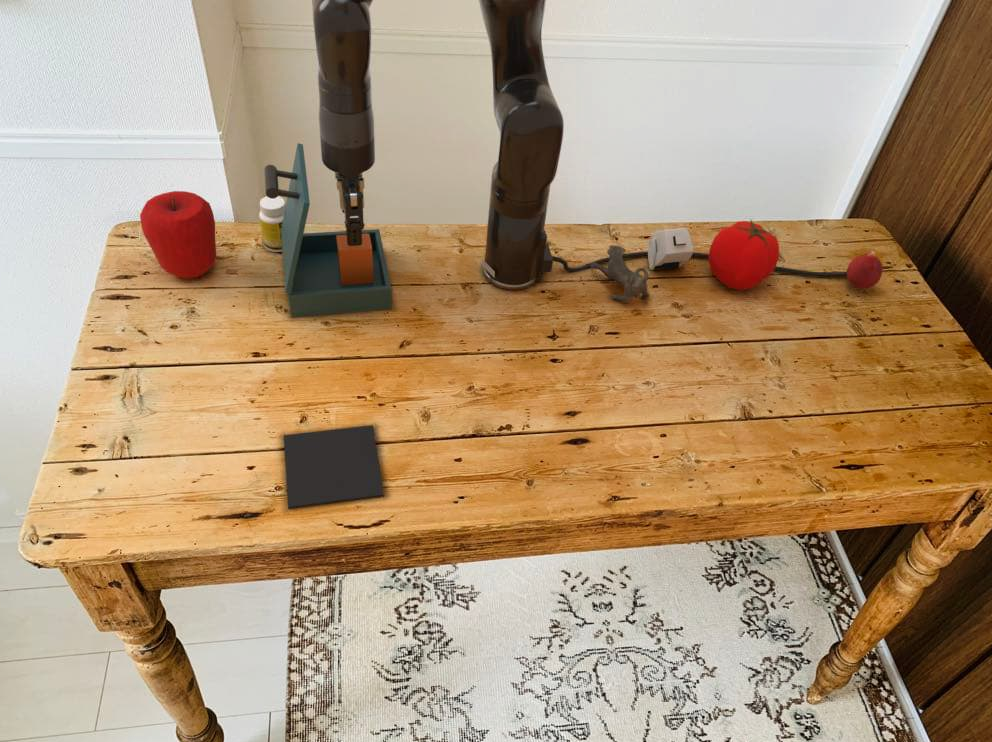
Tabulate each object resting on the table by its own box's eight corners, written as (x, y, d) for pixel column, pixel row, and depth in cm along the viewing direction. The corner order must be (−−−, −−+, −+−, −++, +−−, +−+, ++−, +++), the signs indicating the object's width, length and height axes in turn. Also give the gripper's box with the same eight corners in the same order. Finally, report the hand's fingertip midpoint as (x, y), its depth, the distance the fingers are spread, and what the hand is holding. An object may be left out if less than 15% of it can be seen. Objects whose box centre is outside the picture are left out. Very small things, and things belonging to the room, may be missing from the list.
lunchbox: (379, 249, 139) (379, 229, 136) (391, 309, 129) (391, 288, 126) (286, 255, 136) (283, 234, 132) (291, 317, 126) (288, 296, 122)
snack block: (370, 267, 134) (369, 233, 129) (373, 283, 132) (372, 248, 127) (338, 270, 133) (336, 235, 128) (341, 285, 131) (338, 250, 125)
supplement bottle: (285, 255, 135) (280, 213, 129) (259, 249, 136) (251, 207, 130) (296, 239, 139) (291, 197, 133) (270, 233, 139) (264, 191, 133)
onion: (874, 284, 147) (893, 249, 141) (869, 302, 144) (889, 266, 138) (842, 273, 149) (860, 238, 143) (837, 291, 145) (855, 255, 139)
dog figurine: (653, 305, 137) (663, 270, 131) (625, 313, 134) (634, 278, 129) (614, 263, 143) (622, 229, 138) (587, 271, 141) (594, 236, 136)
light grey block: (644, 273, 145) (668, 261, 136) (639, 237, 145) (662, 222, 136) (674, 270, 147) (700, 258, 137) (668, 234, 147) (694, 220, 137)
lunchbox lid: (303, 144, 122) (265, 136, 119) (309, 203, 112) (269, 196, 109) (285, 232, 132) (251, 227, 130) (290, 294, 122) (253, 289, 120)
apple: (217, 244, 136) (201, 172, 126) (230, 281, 130) (215, 209, 120) (150, 255, 132) (129, 183, 122) (160, 294, 126) (139, 221, 116)
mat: (373, 426, 112) (372, 424, 112) (383, 496, 105) (383, 494, 105) (283, 436, 110) (283, 434, 109) (288, 508, 102) (288, 507, 102)
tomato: (708, 297, 140) (726, 245, 131) (697, 256, 147) (714, 204, 139) (774, 302, 141) (797, 250, 133) (760, 261, 148) (780, 210, 140)
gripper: (380, 158, 110) (381, 254, 122) (368, 106, 119) (370, 200, 131) (323, 160, 108) (331, 257, 120) (316, 106, 117) (323, 202, 129)
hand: (351, 227), depth 125 cm, fingers open, 8 cm apart
